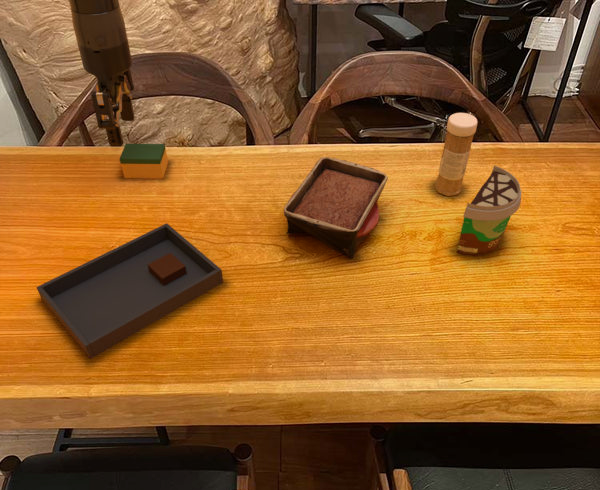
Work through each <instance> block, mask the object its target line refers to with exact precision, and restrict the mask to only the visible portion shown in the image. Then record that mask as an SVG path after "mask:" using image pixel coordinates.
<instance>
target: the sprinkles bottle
mask: <svg viewBox="0 0 600 490" xmlns="http://www.w3.org/2000/svg"><path fill="white" fill-rule="evenodd" d="M477 127H478V119H477V117H475V116H474V115H472V114H471V113H467V112H455V113H453V114H451V115H449V117H448V119H447V125H446V135H445V138H444V145H443V149H442V155H441V157H440V162H439V167H438V175H437V179H436V183H435V190H436V191H437V192H438V193H439V194H441V195H443V196H448V197H452V196H456V195H458V194H460V193H461V191H462V185H463V180H464V177H465V176H466V175H465V174H466V170H467V167H468V162H469V157H470V153H471V149H472V143H473V139H474V136H475V134H476V132H477V129H478V128H477Z"/></svg>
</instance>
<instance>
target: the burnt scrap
mask: <svg viewBox="0 0 600 490" xmlns="http://www.w3.org/2000/svg"><path fill="white" fill-rule="evenodd" d="M148 268H149V272H150V273H151V274H152V275H153V276H154V277H155V278H156V279H157V280H158V281H159V282H160V283H161V284H163V285H164V286H165V285H166V284H168V283H170V282H172V281H174V280H176V279H177V278H179V277H181V276H183V275H185V274H187V271H186V266H185V265H184V264H183V263H182V262H180V261H179V260H178V259H177V258H176V257H175V256H174V255H173V254H171V253H169V254H167V255H165V256H163V257H161V258H159V259H157V260H155V261H153V262H152V263H150V264H148Z"/></svg>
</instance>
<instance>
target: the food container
mask: <svg viewBox="0 0 600 490" xmlns="http://www.w3.org/2000/svg"><path fill="white" fill-rule="evenodd" d="M521 202H522V189H521V185H520V182H519V180H518V179H517V178H516V176H514V174H512V173H511V172H509V171H508V170H506V169H504V168H501V167H500V166H498V165H493V167H492V170H491V173H490V175H489V177H488V178H487V180H486V181H485V182H484V183H483V184H482V186H481V187H480V189H479V190H478V192H477V193H476V195H475V196H474V198H473V200H471V202H467V203H466V207H465V209H464V213H463V216H462V217H463V221H462V225H461V231H460V235H459V240H458V244H457V248H456V254H460V255H463V256H468V257H481V256H482V257H483V256H486V255H489V254H492V253H493V252H495V251H496V250H497V248H498V247H499V245H500V243H501V240H502V239H503V235H504V233H505V231H506V229H507V226H508V224H509V221H510V219H511V217H512V216H513V215H514V214H515V213H517V212H518V210H519V209H520V207H521V204H522V203H521Z"/></svg>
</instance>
